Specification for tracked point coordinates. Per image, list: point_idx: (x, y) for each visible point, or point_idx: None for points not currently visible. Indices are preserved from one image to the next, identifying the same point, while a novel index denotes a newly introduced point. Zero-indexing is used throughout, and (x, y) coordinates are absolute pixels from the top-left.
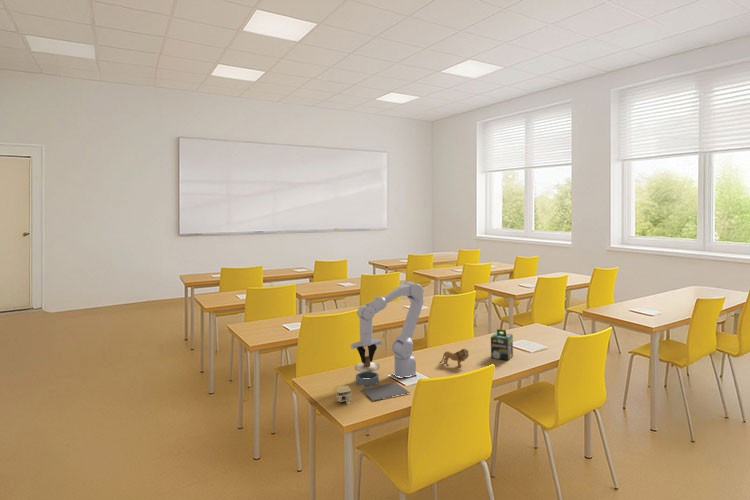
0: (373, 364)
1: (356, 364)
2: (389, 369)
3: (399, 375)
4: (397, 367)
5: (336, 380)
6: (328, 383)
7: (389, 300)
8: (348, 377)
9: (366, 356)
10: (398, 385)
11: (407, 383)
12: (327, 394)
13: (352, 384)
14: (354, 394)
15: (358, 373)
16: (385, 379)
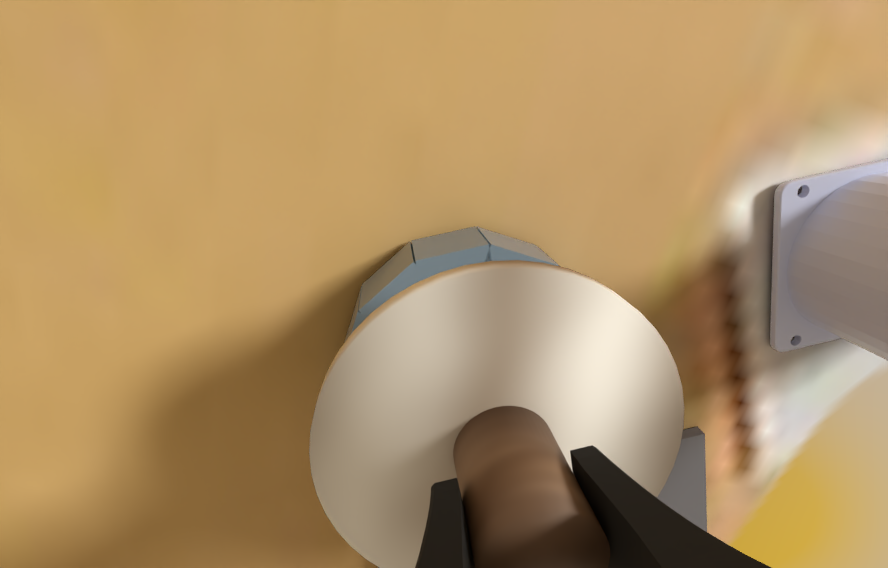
0: (612, 413)
1: (353, 356)
2: (830, 9)
3: (812, 319)
4: (879, 341)
5: (117, 202)
6: (19, 273)
7: None
8: (276, 142)
9: (551, 526)
10: (694, 499)
11: (785, 440)
12: (44, 532)
13: (304, 361)
14: (298, 564)
15: (385, 294)
16: (656, 311)
